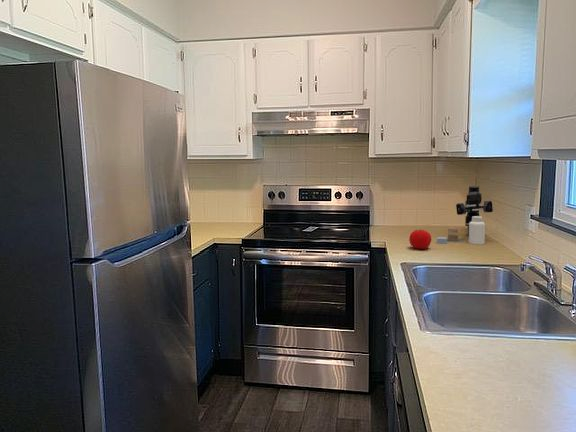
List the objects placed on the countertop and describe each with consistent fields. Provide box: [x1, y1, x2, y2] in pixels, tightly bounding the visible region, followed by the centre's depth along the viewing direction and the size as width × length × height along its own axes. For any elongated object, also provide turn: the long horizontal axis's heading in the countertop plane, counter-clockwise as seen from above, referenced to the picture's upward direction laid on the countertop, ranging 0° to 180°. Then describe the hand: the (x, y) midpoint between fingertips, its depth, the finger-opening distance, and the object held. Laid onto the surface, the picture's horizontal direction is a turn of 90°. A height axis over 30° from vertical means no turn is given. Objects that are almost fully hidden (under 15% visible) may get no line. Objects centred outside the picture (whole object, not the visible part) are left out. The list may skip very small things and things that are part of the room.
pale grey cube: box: [436, 236, 448, 245], centre depth 256 cm, size 5×5×4 cm
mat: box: [447, 238, 464, 243], centre depth 263 cm, size 11×12×1 cm
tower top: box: [447, 226, 459, 236], centre depth 262 cm, size 5×5×4 cm
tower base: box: [447, 234, 459, 241], centre depth 262 cm, size 5×5×4 cm
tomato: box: [408, 229, 432, 250], centre depth 244 cm, size 11×13×10 cm
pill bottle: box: [468, 215, 486, 245], centre depth 253 cm, size 8×8×15 cm
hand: (474, 211), depth 253 cm, fingers open, 9 cm apart
